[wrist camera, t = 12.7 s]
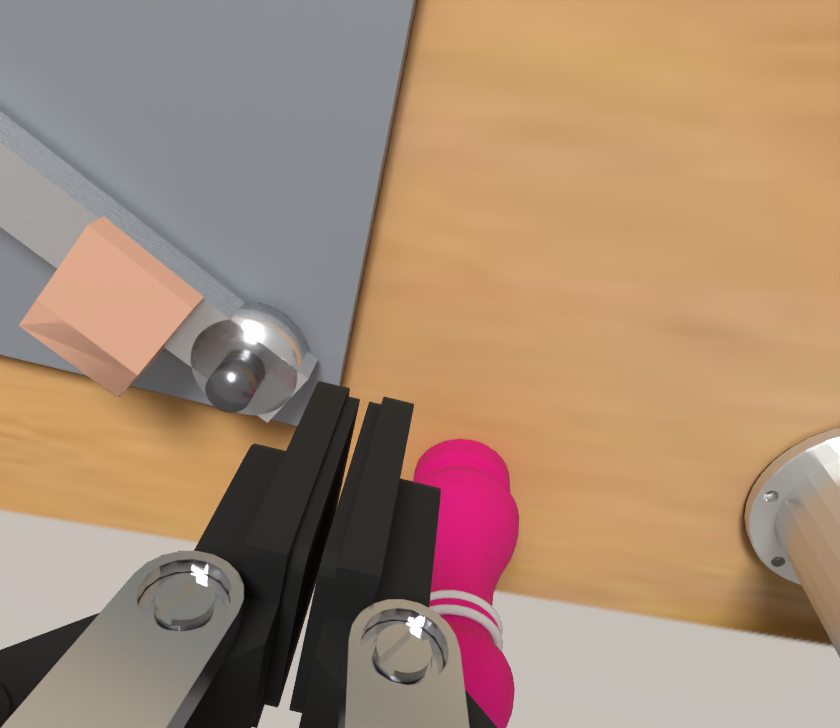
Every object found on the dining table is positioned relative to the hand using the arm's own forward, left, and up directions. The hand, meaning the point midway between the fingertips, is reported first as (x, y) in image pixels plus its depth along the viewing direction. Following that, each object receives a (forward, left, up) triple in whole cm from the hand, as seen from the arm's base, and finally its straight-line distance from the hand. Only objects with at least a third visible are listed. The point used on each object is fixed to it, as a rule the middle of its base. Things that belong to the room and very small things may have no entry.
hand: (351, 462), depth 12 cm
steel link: (+16, +9, -25) cm, 31 cm away
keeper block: (+15, +10, -27) cm, 32 cm away
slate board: (+16, +4, -27) cm, 32 cm away
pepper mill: (-6, +20, -27) cm, 34 cm away
